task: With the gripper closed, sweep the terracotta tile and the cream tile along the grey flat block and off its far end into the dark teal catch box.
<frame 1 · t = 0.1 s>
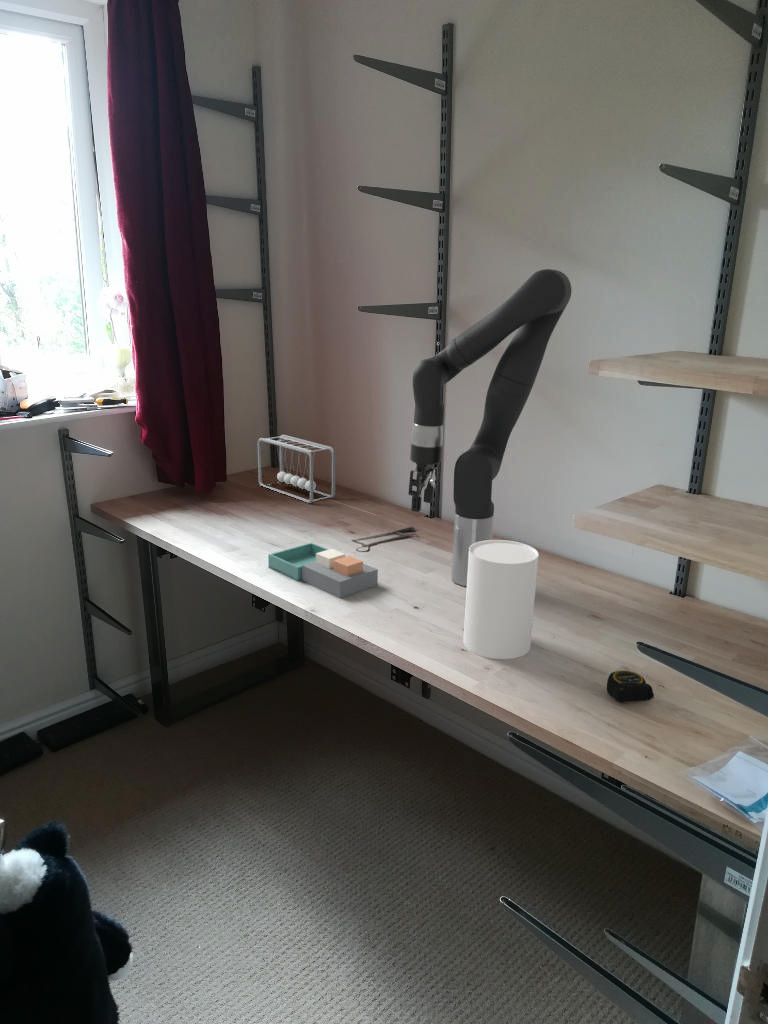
hand: (422, 506, 183), 17 cm above the table, fingers open, 8 cm apart
grey flat block: (339, 582, 180), on the table
cream tile: (330, 563, 181), point 4 cm above the table, touching grey flat block
catch box: (305, 567, 189), on the table
terracotta tile: (348, 570, 177), point 4 cm above the table, touching grey flat block
newton's cradle: (295, 493, 256), on the table
canister: (496, 644, 152), on the table
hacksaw: (387, 542, 211), on the table
tape measure: (628, 699, 132), on the table
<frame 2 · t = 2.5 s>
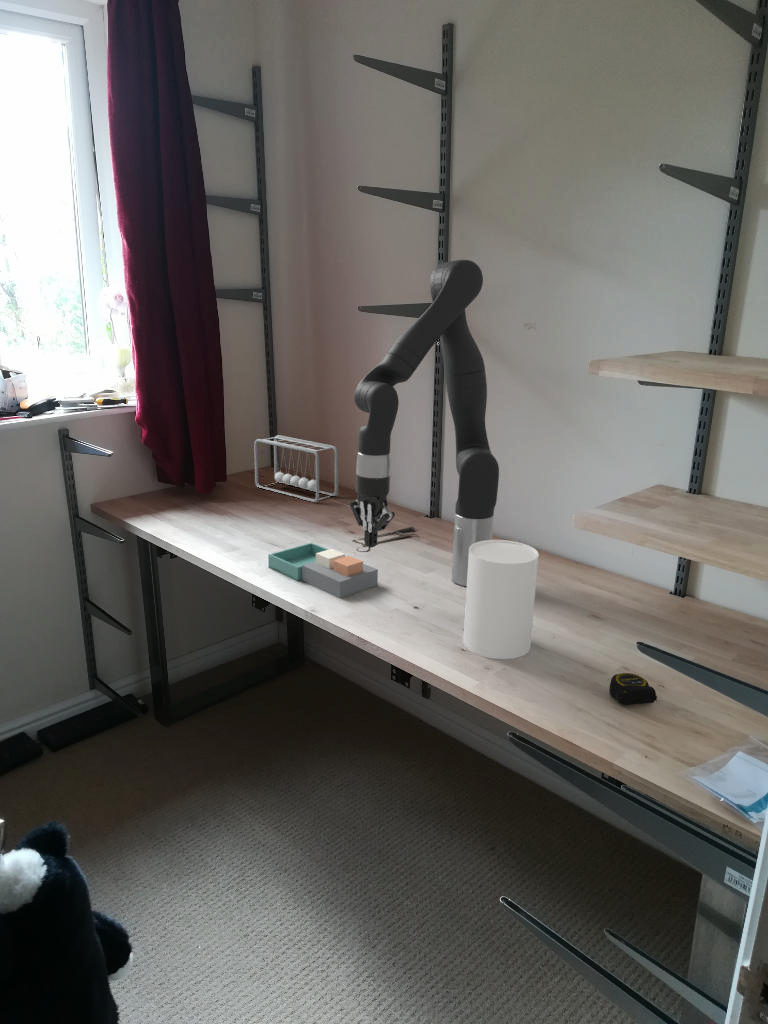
hand: (370, 546, 169), 12 cm above the table, fingers closed
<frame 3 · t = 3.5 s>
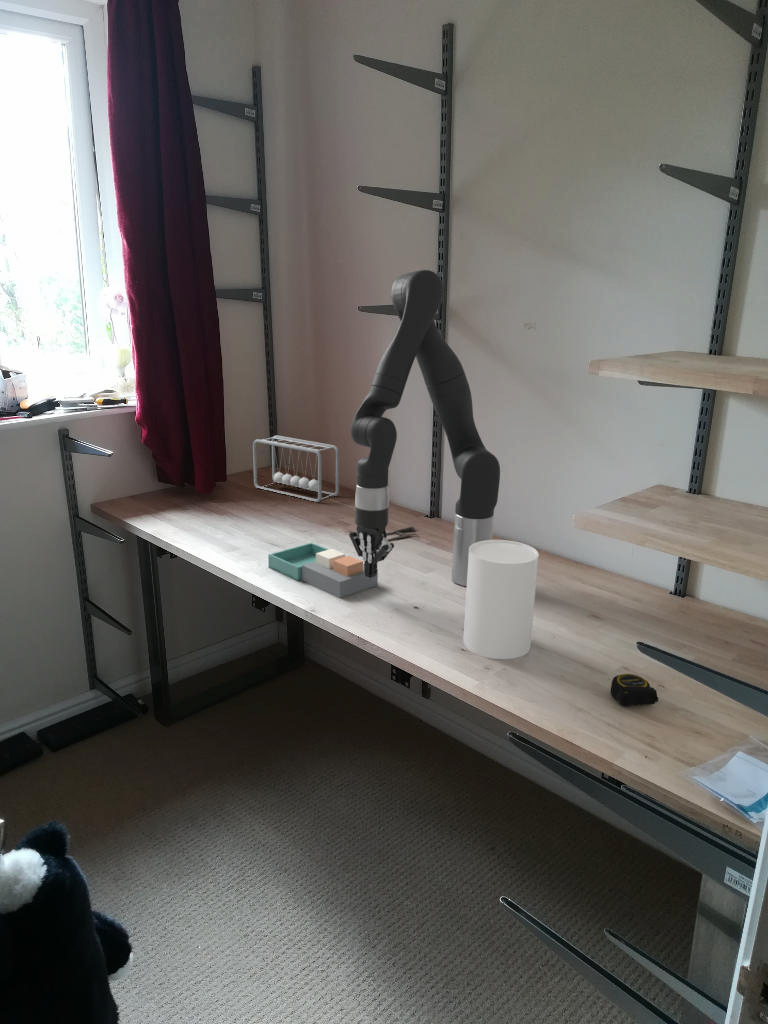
hand: (370, 576, 171), 5 cm above the table, fingers closed
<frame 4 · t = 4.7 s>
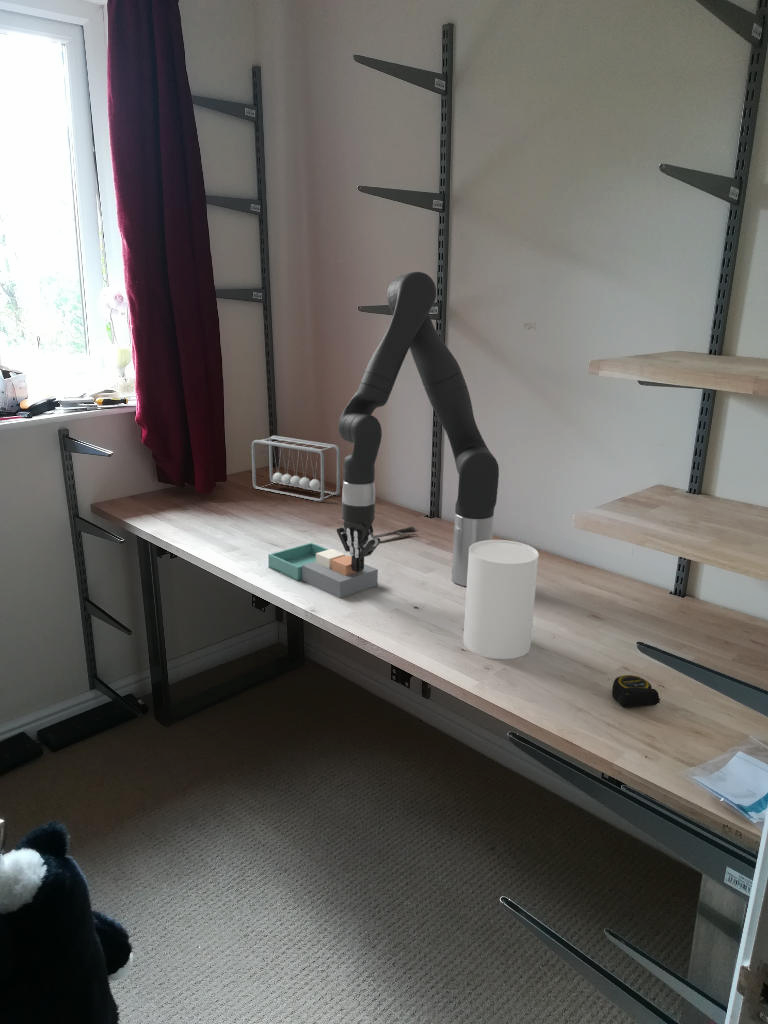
hand: (357, 570, 174), 5 cm above the table, fingers closed
terracotta tile: (346, 570, 177), point 4 cm above the table, touching gripper, grey flat block
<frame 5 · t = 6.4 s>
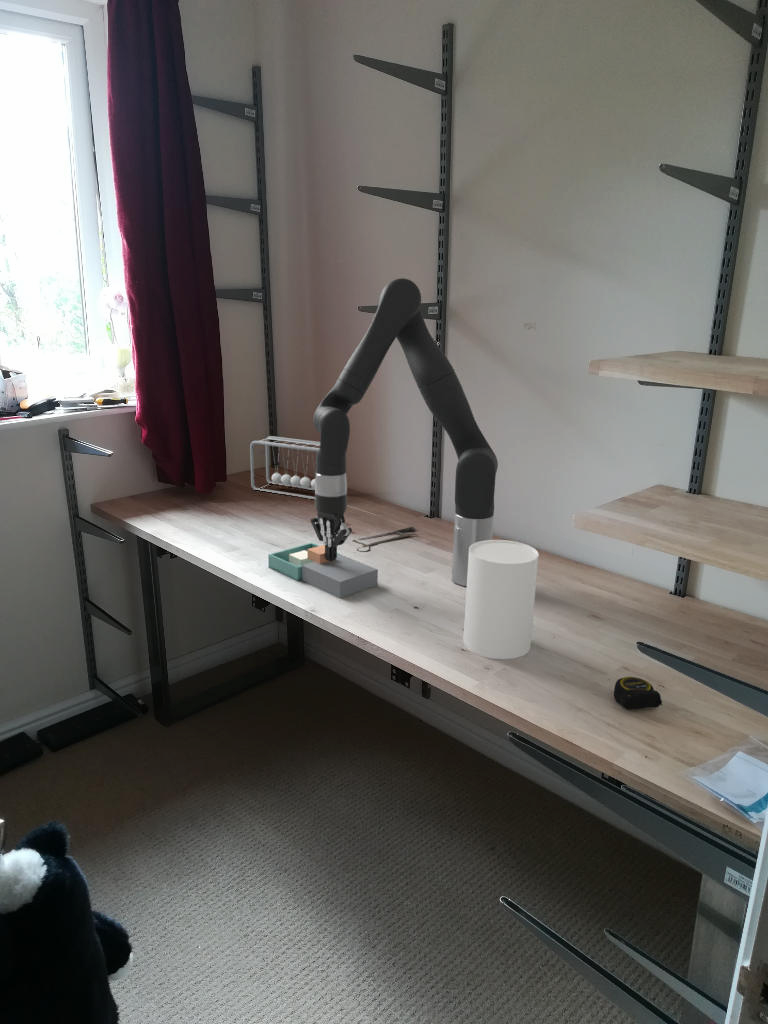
hand: (330, 559, 180), 5 cm above the table, fingers closed
cream tile: (302, 554, 189), point 3 cm above the table, tilted 180°, touching catch box
terracotta tile: (321, 559, 184), point 4 cm above the table, touching gripper, grey flat block
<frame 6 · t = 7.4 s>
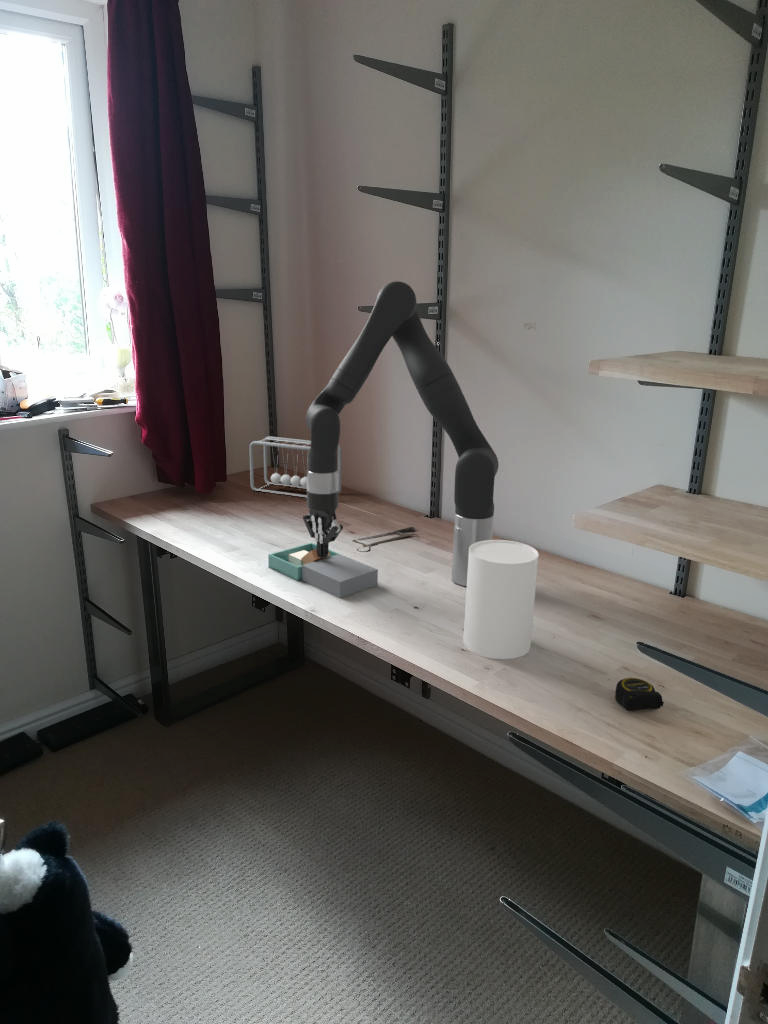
hand: (322, 556, 183), 5 cm above the table, fingers closed
cream tile: (302, 554, 189), point 3 cm above the table, tilted 180°, touching catch box, terracotta tile
terracotta tile: (317, 561, 185), point 3 cm above the table, tilted 40°, touching catch box, cream tile, gripper
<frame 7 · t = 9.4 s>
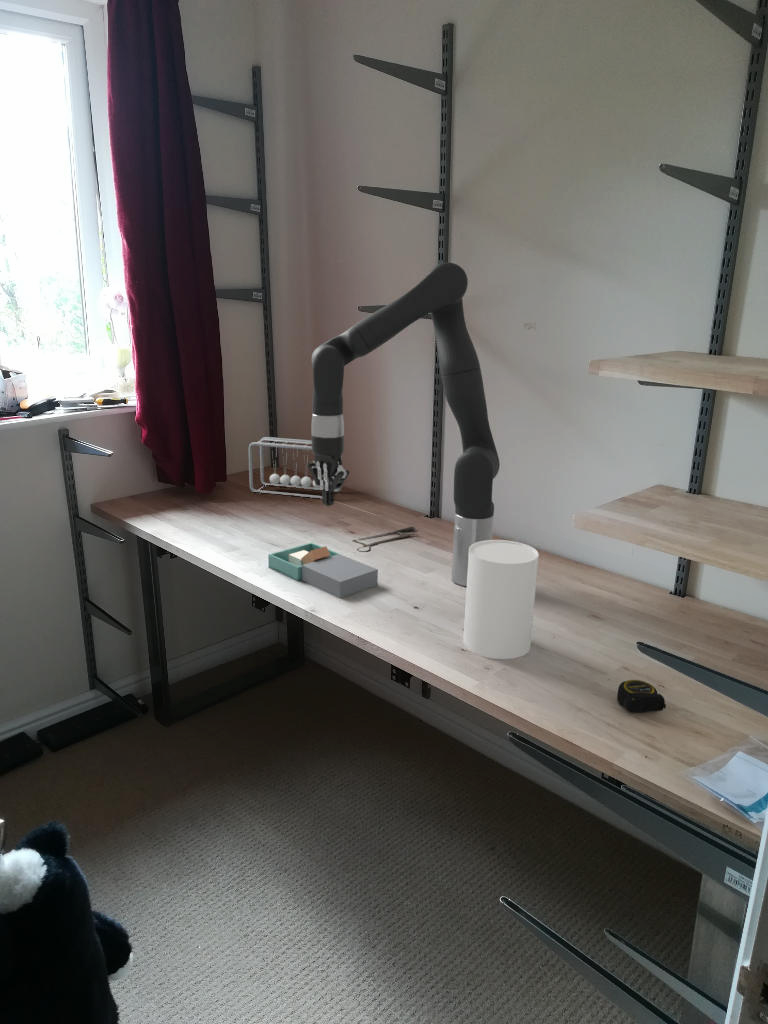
hand: (328, 504, 177), 19 cm above the table, fingers closed
terracotta tile: (317, 561, 185), point 3 cm above the table, tilted 39°, touching catch box, cream tile
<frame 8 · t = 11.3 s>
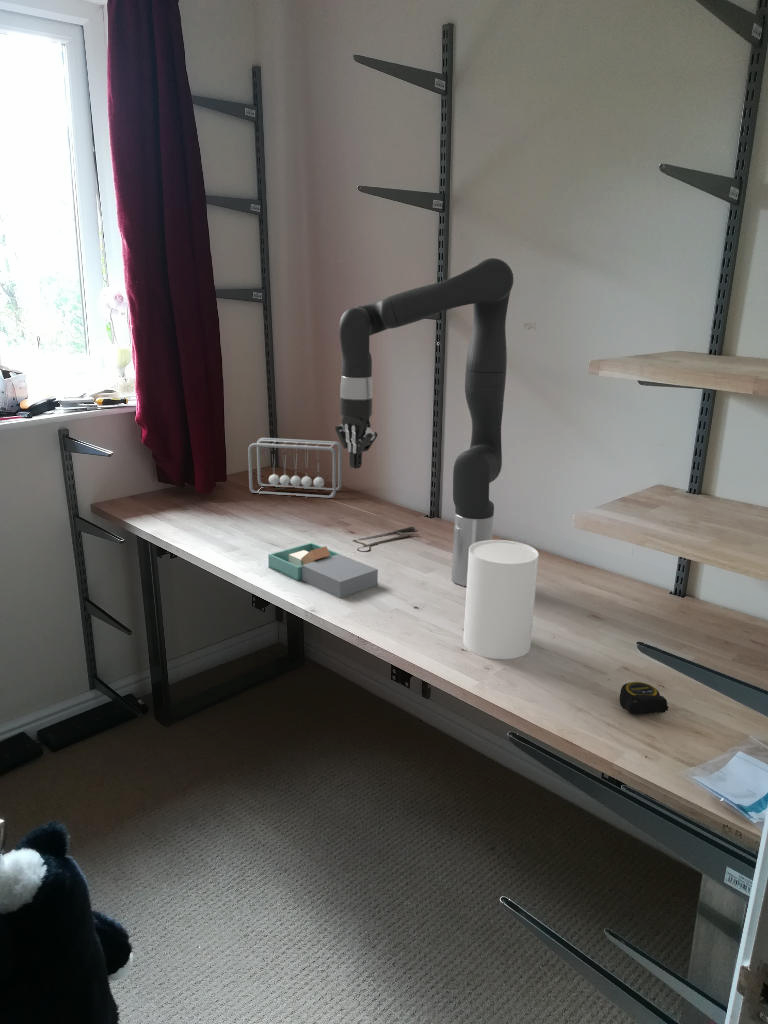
hand: (355, 467, 179), 27 cm above the table, fingers closed
at the end: terracotta tile inside the target area on the catch box (4.8 cm from its centre), point 3.0 cm above the catch box's base; cream tile inside the target area on the catch box (1.1 cm from its centre), point 3.1 cm above the catch box's base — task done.
